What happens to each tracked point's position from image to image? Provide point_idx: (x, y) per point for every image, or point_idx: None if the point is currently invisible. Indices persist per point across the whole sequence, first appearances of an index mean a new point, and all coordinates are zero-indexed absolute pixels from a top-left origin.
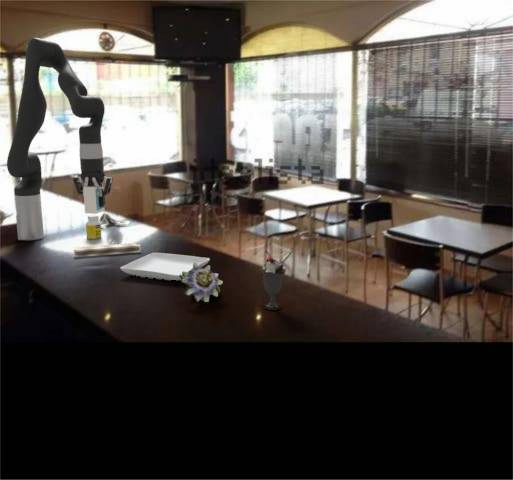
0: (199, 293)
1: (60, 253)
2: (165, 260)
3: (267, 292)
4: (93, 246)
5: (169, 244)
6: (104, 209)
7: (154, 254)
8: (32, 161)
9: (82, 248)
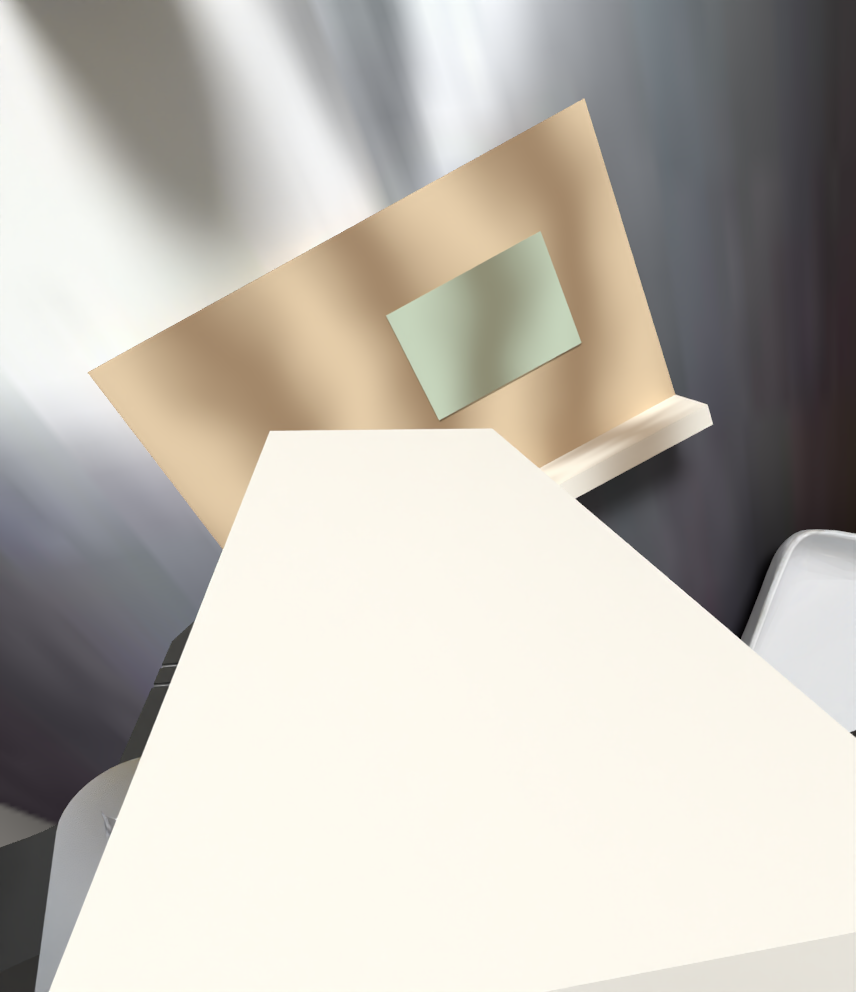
0: None
1: (57, 483)
2: (838, 564)
3: None
4: (251, 302)
5: (850, 11)
6: (496, 434)
7: (798, 543)
8: None
9: (193, 390)
